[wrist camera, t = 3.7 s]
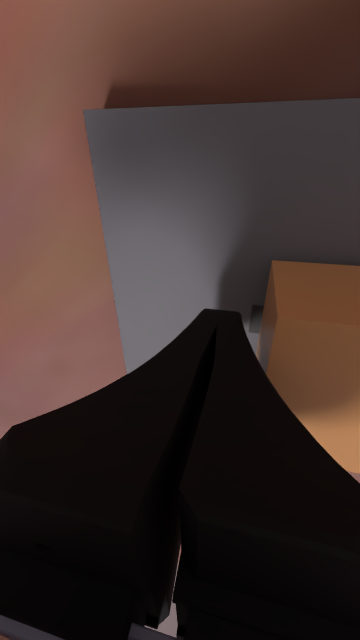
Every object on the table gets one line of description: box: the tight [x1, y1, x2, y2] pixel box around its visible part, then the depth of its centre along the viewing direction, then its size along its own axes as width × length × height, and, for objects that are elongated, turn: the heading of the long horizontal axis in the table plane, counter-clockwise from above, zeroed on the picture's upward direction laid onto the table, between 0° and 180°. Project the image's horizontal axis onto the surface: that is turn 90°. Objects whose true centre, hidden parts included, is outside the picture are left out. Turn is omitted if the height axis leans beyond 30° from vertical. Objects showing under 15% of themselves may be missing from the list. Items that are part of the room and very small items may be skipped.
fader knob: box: [256, 260, 360, 473], centre depth 8 cm, size 4×5×3 cm
